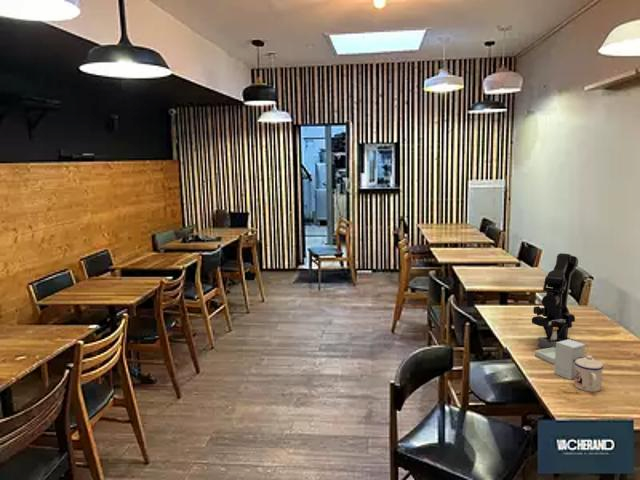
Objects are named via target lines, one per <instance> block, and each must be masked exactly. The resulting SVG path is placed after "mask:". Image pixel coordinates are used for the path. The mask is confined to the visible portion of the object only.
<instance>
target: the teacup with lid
mask: <svg viewBox="0 0 640 480" xmlns="http://www.w3.org/2000/svg"><path fill="white" fill-rule="evenodd" d="M603 368H604V364H603V363H602V362H601V361H599V360H596V358H593V356H592V355H589V354H587V355H585V356H584V358H579V359H577V360H576V361H575V378H574V379H573V381H574V383H573V385H574V386H575V387H576V388H577V389H578V390H581V391H584V392H591V393H595V392H600V391H601V390H602V383H603V382H602V381H603Z"/></svg>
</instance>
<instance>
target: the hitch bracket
mask: <svg viewBox="0 0 640 480" xmlns="http://www.w3.org/2000/svg"><path fill="white" fill-rule="evenodd" d="M560 341H564V340H563V339H560V338H557V341H555V342H551V341H549V340H548V338H547V336H542V337H538V338H537V347H538V348H540V349H542V348H543V349H546V348H552V347H554V348H556V342H560Z"/></svg>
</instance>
